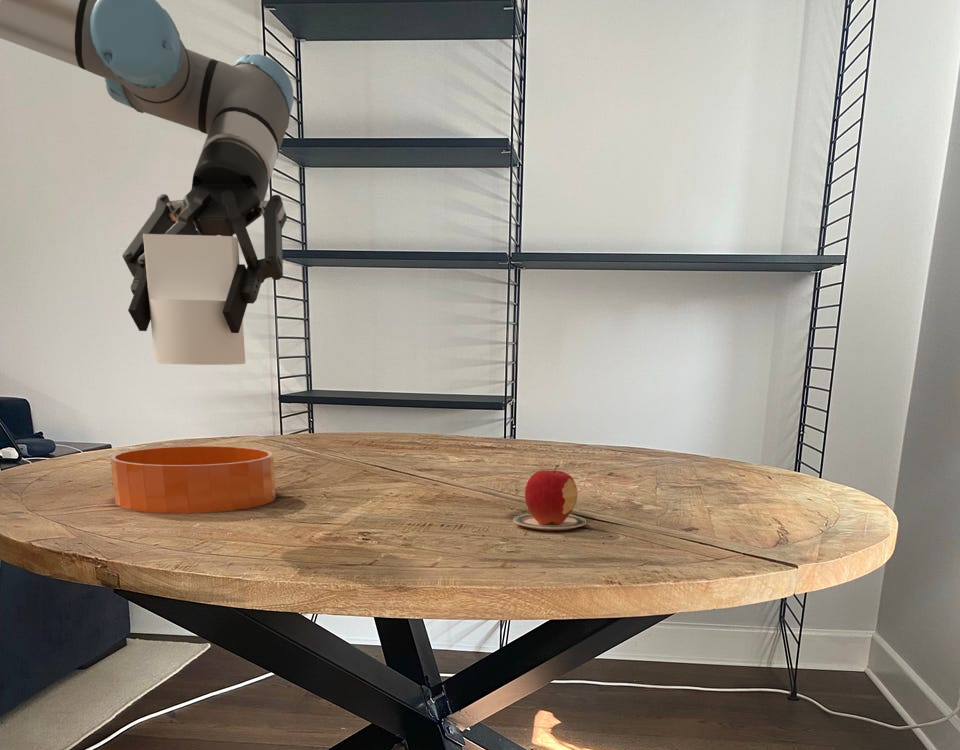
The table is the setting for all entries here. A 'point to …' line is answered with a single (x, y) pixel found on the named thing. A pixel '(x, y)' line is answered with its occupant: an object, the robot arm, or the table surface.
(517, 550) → the table surface
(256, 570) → the table surface
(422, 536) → the table surface
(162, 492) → the orange shallow round tray
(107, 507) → the table surface
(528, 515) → the apple
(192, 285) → the cylinder with rectangular tab
